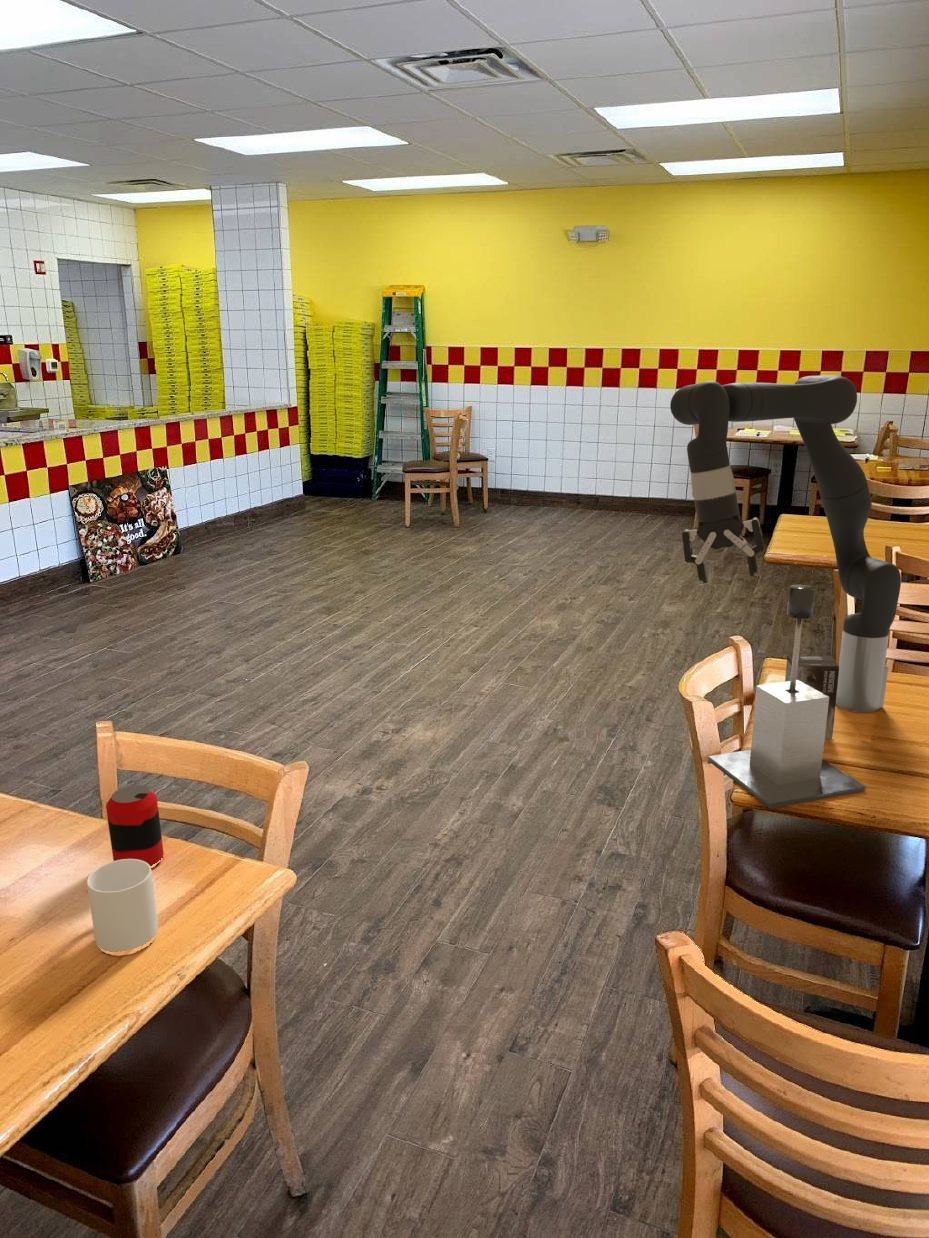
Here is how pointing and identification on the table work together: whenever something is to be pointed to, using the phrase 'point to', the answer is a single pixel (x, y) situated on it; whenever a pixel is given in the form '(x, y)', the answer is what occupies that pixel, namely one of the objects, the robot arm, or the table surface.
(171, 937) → the table surface
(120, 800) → the soda can
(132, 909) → the cup
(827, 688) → the coffee box
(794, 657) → the plunger
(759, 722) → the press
